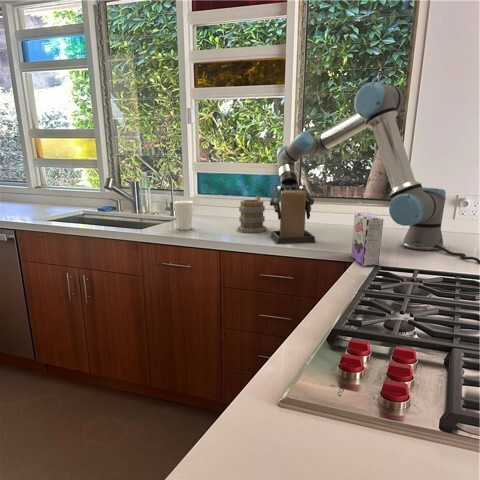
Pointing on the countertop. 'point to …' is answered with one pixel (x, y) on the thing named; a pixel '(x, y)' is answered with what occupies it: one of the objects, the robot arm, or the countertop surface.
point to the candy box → (367, 238)
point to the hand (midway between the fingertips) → (294, 217)
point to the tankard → (252, 216)
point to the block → (293, 213)
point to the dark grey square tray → (293, 238)
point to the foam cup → (184, 214)
